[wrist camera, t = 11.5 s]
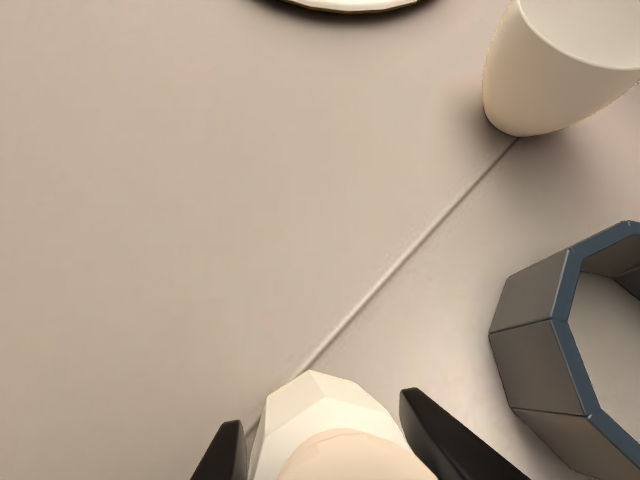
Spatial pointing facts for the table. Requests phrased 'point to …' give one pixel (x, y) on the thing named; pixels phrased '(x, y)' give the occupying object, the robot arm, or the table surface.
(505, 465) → the robot arm
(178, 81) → the table surface
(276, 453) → the salt shaker
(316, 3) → the plate
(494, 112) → the cup
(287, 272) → the table surface
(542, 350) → the ring
